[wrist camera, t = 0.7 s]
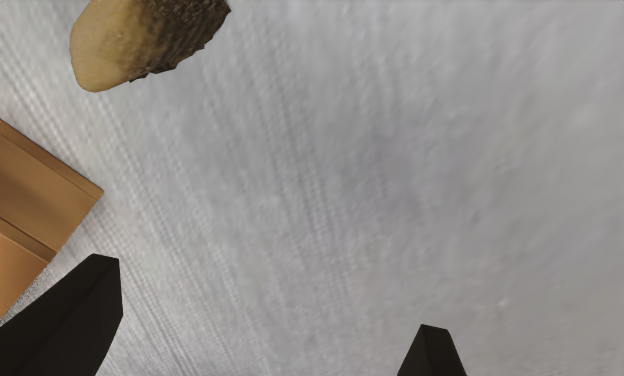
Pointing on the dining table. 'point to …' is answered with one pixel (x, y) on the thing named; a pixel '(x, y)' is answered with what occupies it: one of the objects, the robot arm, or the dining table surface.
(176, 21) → the nut kernel
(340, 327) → the dining table surface
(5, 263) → the lid
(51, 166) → the box
